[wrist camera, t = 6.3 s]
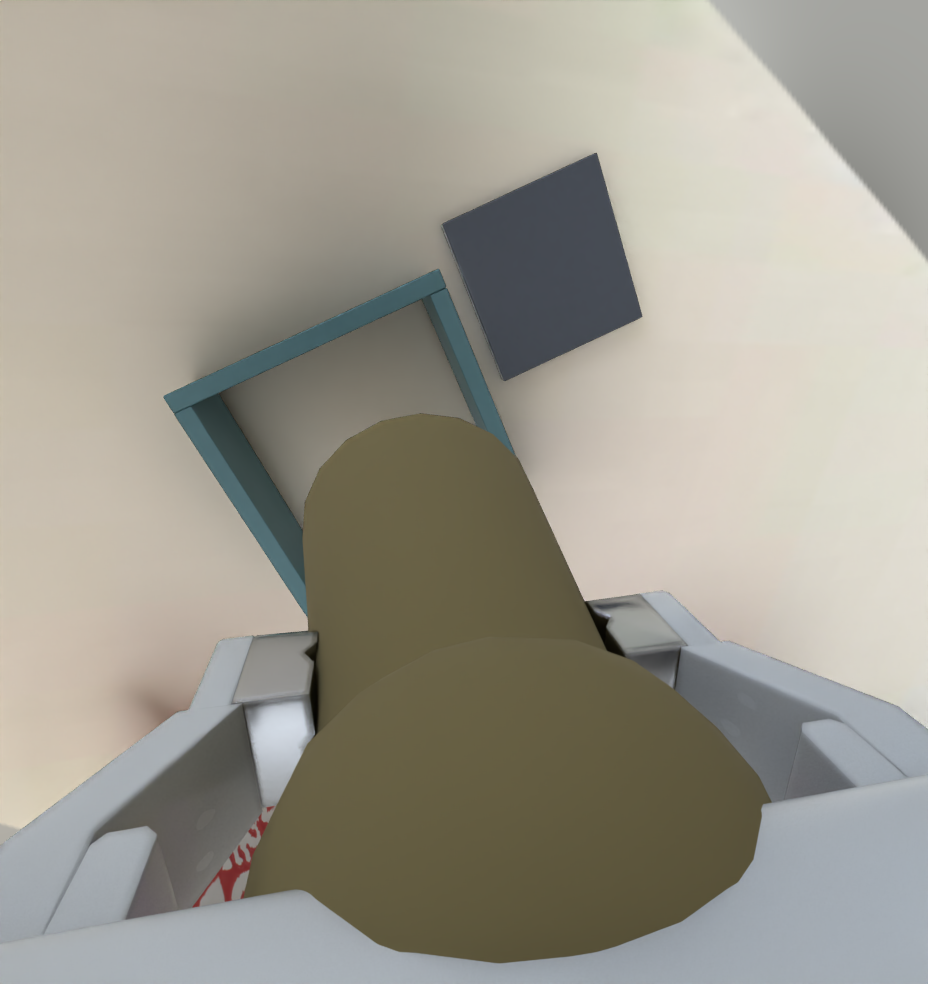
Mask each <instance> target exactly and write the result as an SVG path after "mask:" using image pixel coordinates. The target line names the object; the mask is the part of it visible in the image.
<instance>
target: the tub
mask: <svg viewBox="0 0 928 984" xmlns="http://www.w3.org/2000/svg"><path fill="white" fill-rule="evenodd" d="M420 299H422V300H423V303H424V305H425V307H426V310H427V312H428V314H429V317H430V319H431V321H432V324H433V326H434V328H435V331H436V333H437V335H438V338H439V340H440V342H441V345H442V347H443V349H444V352H445V354H446V356H447V359H448V361H449V363H450V366H451V368H452V370H453V373H454V375H455V377H456V380H457V382H458V384H459V387H460V389H461V391H462V393H463V396H464V398H465V400H466V403H467V405H468V407H469V410H470V412H471V414H472V417H473V419H474V421H475V424H476V426H477V427H479V428H481V429H483V430H485V431H488V432H490V433H492V434H493V435H494V436H495V437H496V438H497V439H498V440H499V441H501V442H502V443H503V444H504V445H505V446H506V447H507V448H508V449H509V450H510V451H511V452H512V453H513V454H514V455H515V453H514V451H513V448H512V446H511V443H510V441H509V438H508V436H507V434H506V431H505V429H504V426H503V424H502V421H501V419H500V416H499V414H498V412H497V409H496V407H495V404H494V402H493V399H492V397H491V394H490V392H489V390H488V387H487V385H486V382H485V380H484V377H483V375H482V372H481V370H480V368H479V365H478V363H477V360H476V358H475V355H474V353H473V350H472V348H471V346H470V343H469V341H468V338H467V336H466V333H465V331H464V328H463V326H462V324H461V321H460V319H459V316H458V314H457V311H456V309H455V307H454V304H453V302H452V299H451V297H450V294H449V292H448V289H447V288H446V285H445V282H444V280H443V277H442V275H441V272H440V270H439V269H437V270H434V271H432V272H430V273H428V274H426V275H424V276H421V277H419V278H417V279H415V280H413V281H411V282H408V283H406V284H404V285H402V286H400V287H398V288H396V289H393V290H391V291H389V292H387V293H385V294H383V295H380V296H378V297H376V298H374V299H372V300H370V301H367V302H365V303H363V304H361V305H359V306H357V307H354V308H352V309H350V310H348V311H346V312H344V313H342V314H339V315H337V316H335V317H333V318H331V319H329V320H326V321H324V322H322V323H320V324H318V325H316V326H313V327H311V328H309V329H307V330H305V331H303V332H300V333H298V334H296V335H294V336H292V337H290V338H288V339H285V340H283V341H281V342H279V343H277V344H275V345H272V346H270V347H268V348H266V349H264V350H262V351H259V352H257V353H255V354H253V355H251V356H249V357H246V358H244V359H242V360H240V361H238V362H236V363H234V364H231V365H229V366H227V367H225V368H223V369H221V370H218V371H216V372H214V373H212V374H210V375H208V376H205V377H203V378H201V379H199V380H197V381H195V382H192V383H190V384H188V385H186V386H184V387H182V388H180V389H177V390H175V391H173V392H171V393H169V394H167V395H164V399H165V401H166V402H167V404H168V405H169V407H170V408H171V410H172V411H173V413H175V414H174V415H175V416H176V418H177V419H178V421H179V423H180V424H181V426H182V427H183V429H184V430H185V432H186V433H187V435H188V436H189V438H190V439H191V441H192V442H193V444H194V445H195V447H196V448H197V450H198V452H199V453H200V455H201V456H202V458H203V459H204V461H205V462H206V464H207V465H208V467H209V468H210V470H211V471H212V473H213V474H214V476H215V477H216V479H217V480H218V482H219V484H220V485H221V487H222V488H223V490H224V491H225V493H226V494H227V496H228V497H229V499H230V500H231V502H232V503H233V505H234V506H235V508H236V509H237V511H238V512H239V514H240V516H241V517H242V519H243V520H244V522H245V523H246V525H247V526H248V528H249V529H250V531H251V532H252V534H253V535H254V537H255V538H256V540H257V541H258V543H259V544H260V546H261V548H262V549H263V551H264V552H265V554H266V555H267V557H268V558H269V560H270V561H271V563H272V564H273V566H274V567H275V569H276V570H277V572H278V573H279V575H280V577H281V578H282V580H283V581H284V583H285V584H286V586H287V587H288V589H289V590H290V592H291V593H292V595H293V596H294V598H295V599H296V601H297V602H298V604H299V605H300V607H301V609H302V610H303V612H304V613H305V614H306V616H307V617H308V615H307V600H306V585H305V570H304V555H303V540H302V536H303V531H302V529H301V528H300V526H299V524H298V523H297V521H296V519H295V518H294V516H293V514H292V513H291V511H290V510H289V508H288V506H287V505H286V503H285V501H284V500H283V498H282V497H281V495H280V493H279V492H278V490H277V488H276V487H275V485H274V483H273V482H272V480H271V479H270V477H269V475H268V474H267V472H266V470H265V469H264V467H263V466H262V464H261V462H260V461H259V459H258V457H257V456H256V454H255V452H254V451H253V449H252V448H251V446H250V444H249V443H248V441H247V439H246V438H245V436H244V434H243V433H242V431H241V430H240V428H239V426H238V425H237V423H236V421H235V420H234V418H233V417H232V415H231V413H230V412H229V410H228V408H227V407H226V405H225V403H224V402H223V400H222V399H221V397H220V395H219V394H218V393H220V392H222V391H224V390H226V389H228V388H231V387H233V386H235V385H237V384H239V383H241V382H243V381H246V380H248V379H250V378H252V377H254V376H256V375H259V374H261V373H263V372H265V371H267V370H269V369H272V368H274V367H276V366H278V365H280V364H282V363H284V362H287V361H289V360H291V359H293V358H295V357H297V356H300V355H302V354H304V353H306V352H308V351H310V350H313V349H315V348H317V347H319V346H321V345H323V344H325V343H328V342H330V341H332V340H334V339H336V338H338V337H341V336H343V335H345V334H347V333H349V332H351V331H354V330H356V329H358V328H360V327H362V326H364V325H366V324H369V323H371V322H373V321H375V320H377V319H379V318H382V317H384V316H386V315H388V314H390V313H392V312H394V311H397V310H399V309H401V308H403V307H405V306H407V305H410V304H412V303H414V302H416V301H418V300H420Z"/></svg>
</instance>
